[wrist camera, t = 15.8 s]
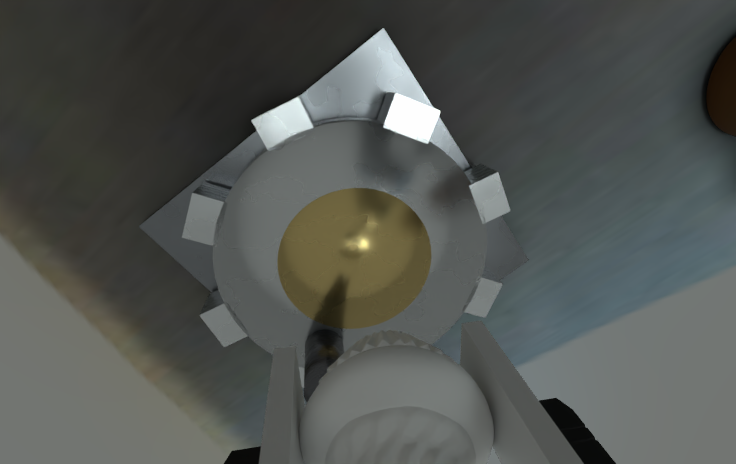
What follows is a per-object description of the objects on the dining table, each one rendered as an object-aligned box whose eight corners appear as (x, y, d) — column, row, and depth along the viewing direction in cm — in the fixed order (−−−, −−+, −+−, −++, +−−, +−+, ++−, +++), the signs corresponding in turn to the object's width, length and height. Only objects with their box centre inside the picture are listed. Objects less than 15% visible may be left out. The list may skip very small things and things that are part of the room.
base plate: (143, 221, 24) (136, 228, 23) (381, 29, 22) (384, 27, 21) (328, 391, 30) (329, 402, 29) (523, 255, 28) (531, 261, 27)
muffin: (304, 417, 16) (272, 631, 10) (317, 288, 15) (288, 446, 8) (446, 428, 17) (508, 638, 10) (478, 304, 15) (577, 465, 8)
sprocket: (167, 335, 25) (123, 412, 20) (239, 32, 20) (210, 11, 14) (426, 388, 30) (454, 462, 24) (543, 154, 25) (617, 177, 19)
